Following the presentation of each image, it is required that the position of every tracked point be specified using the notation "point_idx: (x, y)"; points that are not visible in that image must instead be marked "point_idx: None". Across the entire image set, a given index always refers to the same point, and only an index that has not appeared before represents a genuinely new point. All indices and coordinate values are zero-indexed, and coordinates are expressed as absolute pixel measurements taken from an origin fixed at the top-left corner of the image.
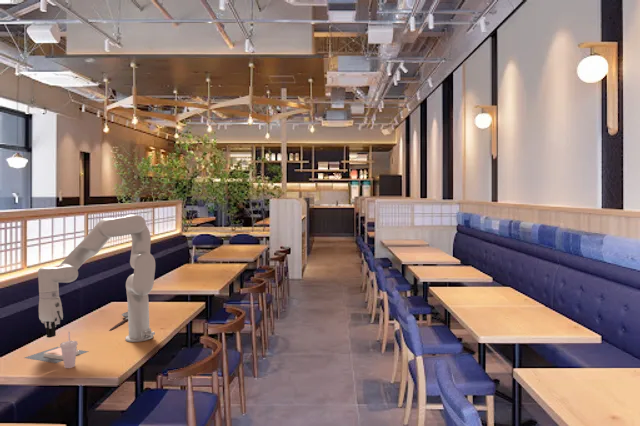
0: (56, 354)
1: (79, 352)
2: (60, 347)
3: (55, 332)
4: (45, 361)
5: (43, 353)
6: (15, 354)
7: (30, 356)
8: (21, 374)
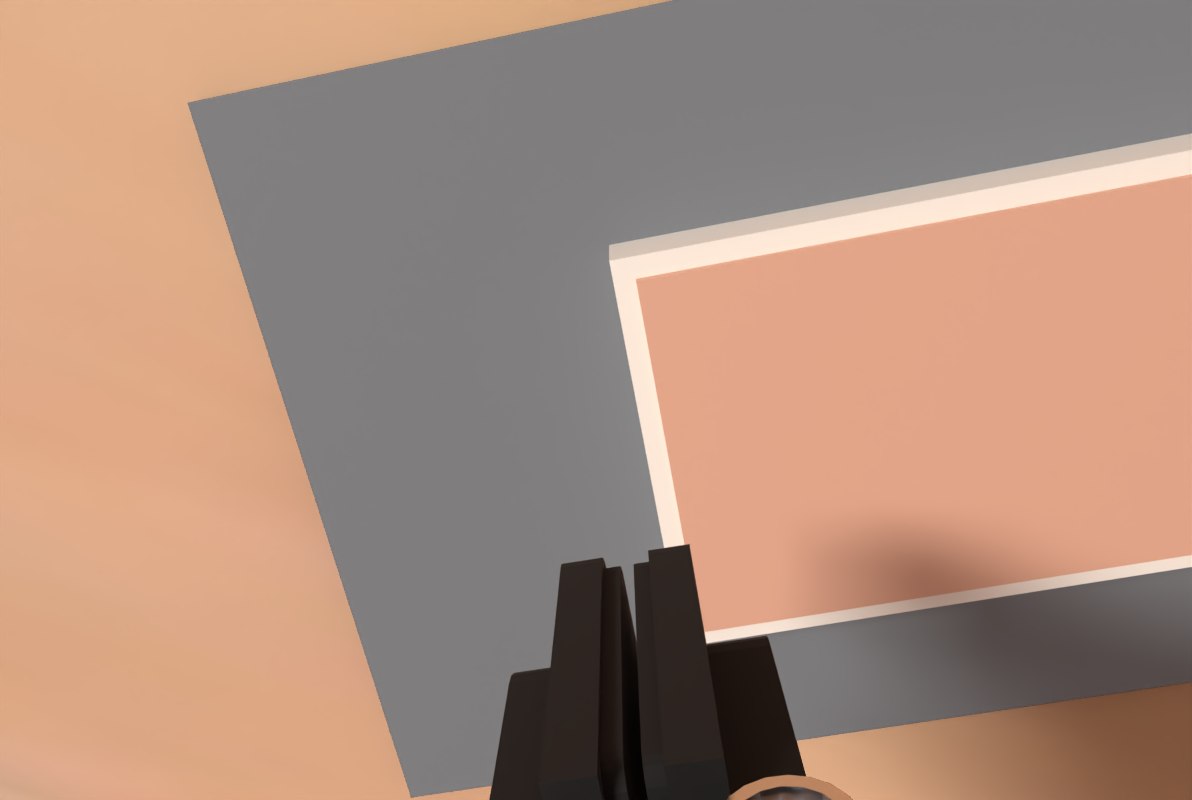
0: (1066, 573)
1: (1161, 53)
2: (320, 94)
3: (694, 600)
4: (990, 710)
5: (461, 518)
6: (10, 754)
7: (439, 717)
8: None
